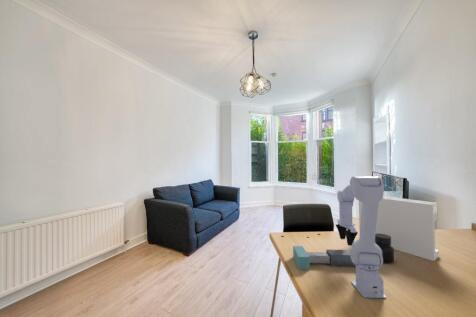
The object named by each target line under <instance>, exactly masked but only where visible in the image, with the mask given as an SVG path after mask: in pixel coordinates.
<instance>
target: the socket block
mask: <svg viewBox="0 0 476 317" xmlns="http://www.w3.org/2000/svg"><path fill="white" fill-rule="evenodd" d="M306 252H307V251H306V250H305V247H304V246H303V245H293V246H292V254H293V255H292V256H293V257H292V258H293V259H294V262H295V264H296V266H297V268H298V269H299V271H300V270H302V271H303V270H310V264H311V263H310V262H309V256H308V254H307V253H306ZM310 271H311V270H310Z"/></svg>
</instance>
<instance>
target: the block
mask: <svg viewBox="0 0 476 317" xmlns="http://www.w3.org/2000/svg"><path fill="white" fill-rule="evenodd" d="M358 212H359V213H358V215H359V216H358V218H359V219H358V220H359V225H358V227H359V228H358V230H359V231H358V232H359V233H360V225H361V213H362V202H361V201H359V200H358ZM438 216H439V214H438V202H435V201H434V202H433V201H432V202H431V201H425V200H419V199H408V198H401V197H391V196H384V195H383V199H382V200H381V201H379V205H378V214H377V224H376V233H375V234H385V235H388V236H390V237H391V246H392V247H393V248H394V250H396V251H399V252H403V253H407V254H410V255H413V256H416V257H419V258H423V259H425V260H428V261H433V262H435V261H436V260H437V259H438V258H439V252H440V251H439V249H436V224H435V223H436V221H438V219H439V218H438Z"/></svg>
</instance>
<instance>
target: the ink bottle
mask: <svg viewBox="0 0 476 317" xmlns="http://www.w3.org/2000/svg"><path fill="white" fill-rule="evenodd" d="M375 244H377V245H378V246H379V247H380V248H381V250H382V257H383V264H393V263H394V264H395V249H394V248H393V247H392V246H391V237H390V236H388V235H385V234H375Z"/></svg>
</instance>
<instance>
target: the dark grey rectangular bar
mask: <svg viewBox="0 0 476 317" xmlns="http://www.w3.org/2000/svg"><path fill="white" fill-rule="evenodd" d="M326 252H328V253H329V254H330V263H328V265H329V266H330V267H334V268H336V267H337V268H355V264H354V263H353V262H352V260H351V257H350V249H326Z"/></svg>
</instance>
